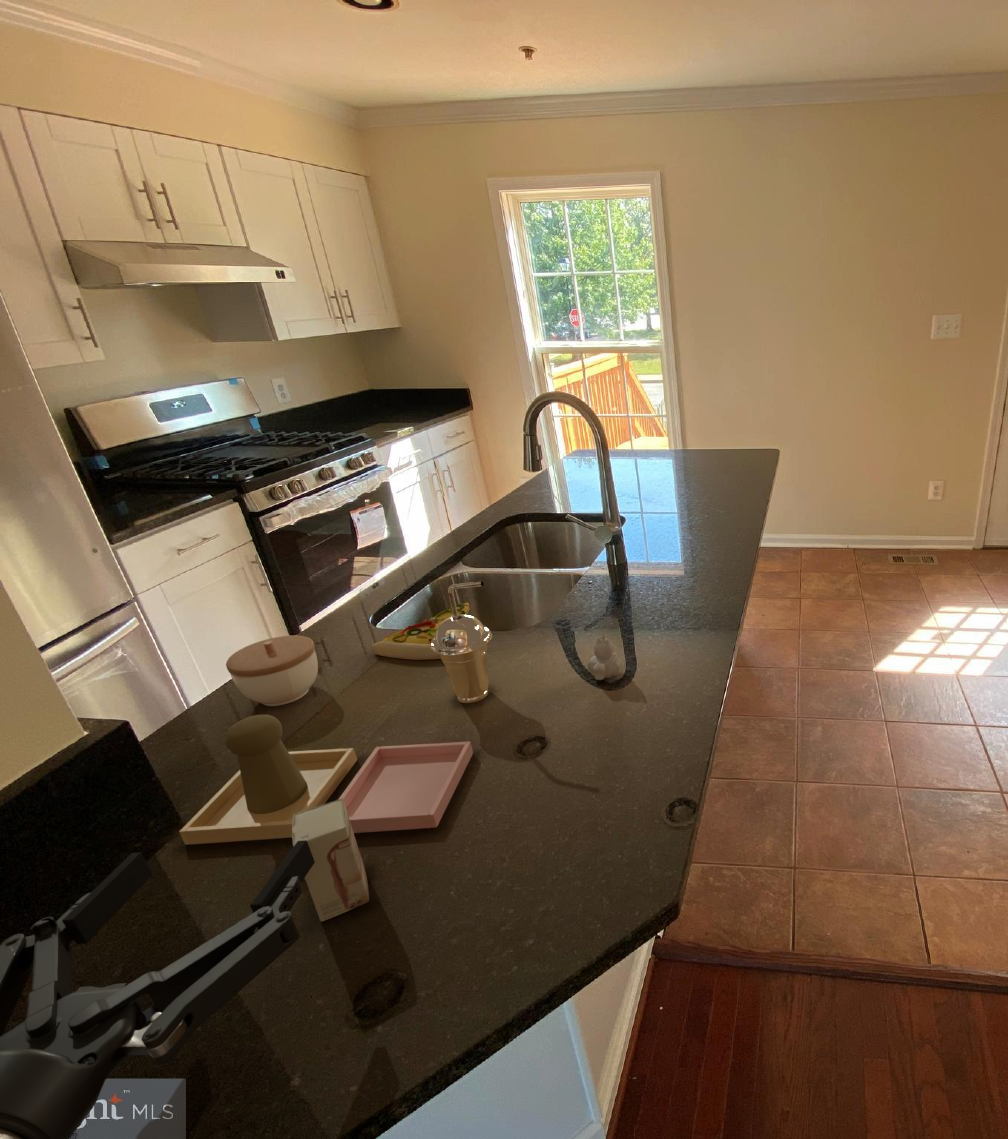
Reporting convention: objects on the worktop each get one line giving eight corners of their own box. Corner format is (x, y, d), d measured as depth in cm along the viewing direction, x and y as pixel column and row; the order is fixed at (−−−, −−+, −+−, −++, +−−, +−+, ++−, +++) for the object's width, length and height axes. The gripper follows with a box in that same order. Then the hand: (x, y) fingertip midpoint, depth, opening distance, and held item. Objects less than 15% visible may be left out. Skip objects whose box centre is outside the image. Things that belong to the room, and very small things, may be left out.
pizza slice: (366, 659, 106) (362, 643, 105) (433, 606, 125) (430, 592, 124) (452, 663, 105) (449, 647, 104) (506, 609, 124) (504, 595, 123)
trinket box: (310, 668, 103) (294, 619, 99) (338, 690, 97) (322, 639, 93) (231, 698, 95) (211, 646, 91) (257, 724, 89) (236, 669, 85)
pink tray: (326, 835, 71) (321, 822, 70) (379, 758, 83) (376, 746, 82) (436, 827, 72) (433, 814, 71) (473, 752, 84) (470, 741, 83)
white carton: (371, 902, 63) (346, 828, 59) (319, 924, 60) (290, 849, 56) (367, 867, 67) (343, 795, 63) (318, 886, 64) (291, 813, 60)
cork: (242, 796, 75) (212, 723, 71) (300, 771, 79) (275, 700, 75) (252, 822, 72) (221, 746, 67) (313, 794, 76) (287, 721, 71)
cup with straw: (481, 674, 102) (460, 563, 94) (515, 692, 97) (495, 577, 89) (432, 698, 95) (404, 581, 88) (465, 719, 91) (438, 597, 83)
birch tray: (185, 844, 69) (178, 831, 68) (260, 765, 81) (255, 753, 80) (300, 837, 70) (295, 823, 70) (357, 759, 82) (353, 747, 82)
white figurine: (627, 668, 104) (624, 626, 101) (614, 690, 98) (610, 646, 95) (597, 665, 105) (593, 624, 102) (582, 687, 99) (576, 644, 96)
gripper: (-240, 1221, 35) (89, 899, 55) (223, 1165, 38) (382, 876, 57) (-329, 1149, 33) (52, 836, 52) (180, 1094, 35) (362, 815, 54)
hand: (225, 857), depth 55 cm, fingers open, 13 cm apart
